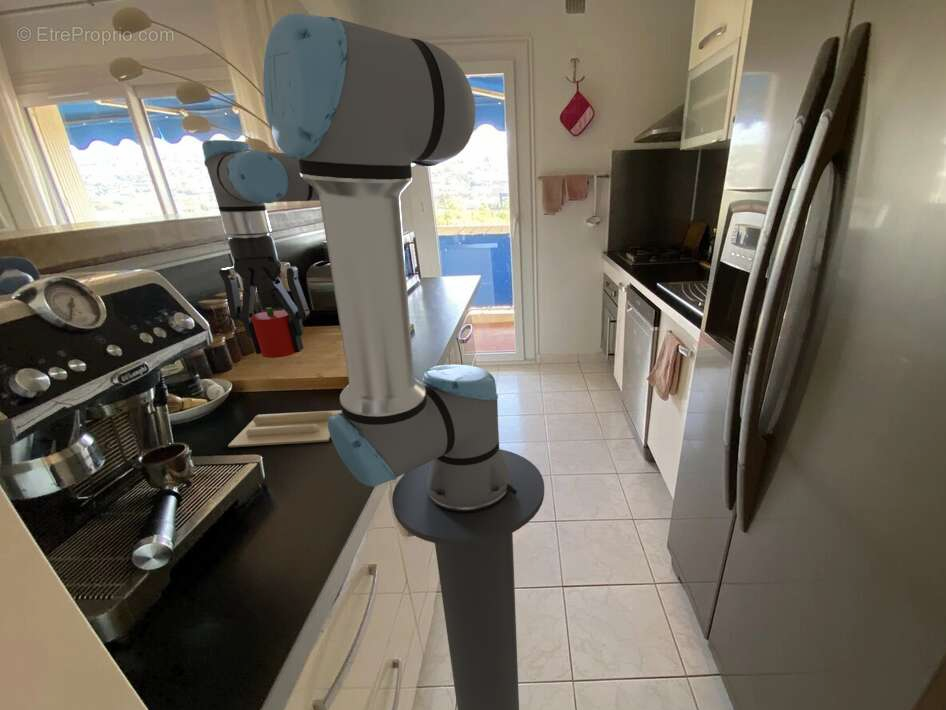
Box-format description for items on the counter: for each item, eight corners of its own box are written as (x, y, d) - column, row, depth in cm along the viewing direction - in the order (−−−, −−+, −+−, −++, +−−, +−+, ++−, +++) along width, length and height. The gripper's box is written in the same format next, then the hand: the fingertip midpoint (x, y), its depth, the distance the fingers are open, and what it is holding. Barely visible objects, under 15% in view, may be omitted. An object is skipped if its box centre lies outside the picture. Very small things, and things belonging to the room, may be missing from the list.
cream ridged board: (346, 411, 107) (344, 402, 106) (328, 441, 94) (325, 431, 93) (258, 416, 105) (255, 407, 104) (228, 447, 92) (224, 437, 91)
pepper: (303, 346, 97) (293, 303, 93) (291, 357, 91) (280, 312, 87) (270, 347, 97) (258, 304, 93) (255, 358, 90) (242, 313, 86)
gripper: (311, 232, 88) (334, 343, 98) (204, 234, 86) (238, 347, 96) (298, 236, 82) (324, 355, 92) (181, 238, 79) (221, 359, 89)
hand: (280, 350), depth 94 cm, fingers closed on pepper, 7 cm apart
